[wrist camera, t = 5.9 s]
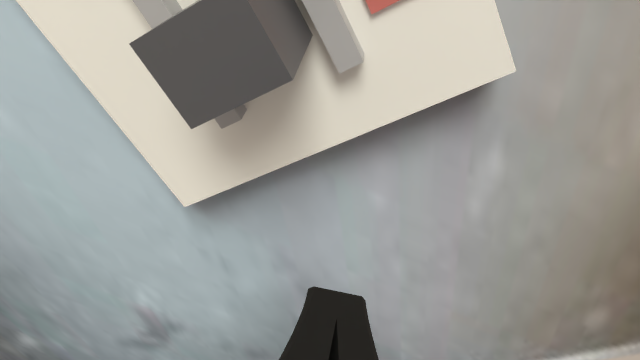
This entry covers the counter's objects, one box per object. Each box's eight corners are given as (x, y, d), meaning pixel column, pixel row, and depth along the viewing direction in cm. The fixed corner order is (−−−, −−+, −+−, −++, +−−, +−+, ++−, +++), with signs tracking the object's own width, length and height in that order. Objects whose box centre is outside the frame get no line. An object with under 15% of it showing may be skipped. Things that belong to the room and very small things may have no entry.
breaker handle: (312, 35, 13) (293, 79, 10) (231, 77, 14) (191, 129, 11) (271, -45, 12) (235, -21, 9) (186, 7, 13) (128, 44, 10)
